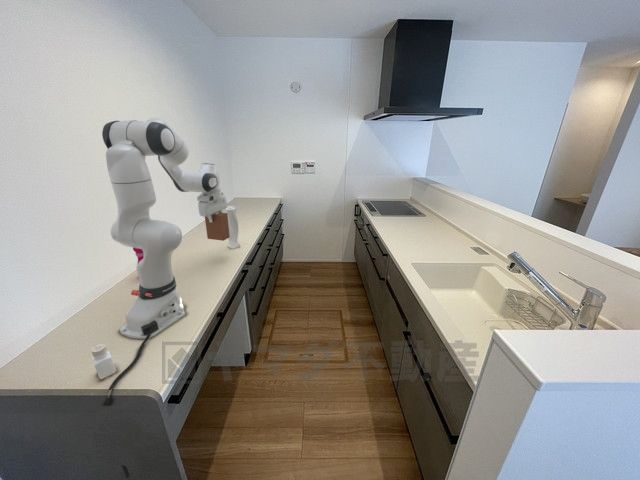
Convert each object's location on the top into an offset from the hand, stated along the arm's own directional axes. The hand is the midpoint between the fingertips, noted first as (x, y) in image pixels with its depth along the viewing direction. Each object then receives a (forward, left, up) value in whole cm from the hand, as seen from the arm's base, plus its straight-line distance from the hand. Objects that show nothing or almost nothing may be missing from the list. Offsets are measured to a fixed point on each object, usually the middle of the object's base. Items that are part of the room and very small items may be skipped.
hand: (215, 220), depth 143 cm
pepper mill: (-27, +24, -24) cm, 44 cm away
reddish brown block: (0, -6, -3) cm, 7 cm away
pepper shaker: (-78, -12, -24) cm, 83 cm away
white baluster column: (+20, +3, -24) cm, 32 cm away
